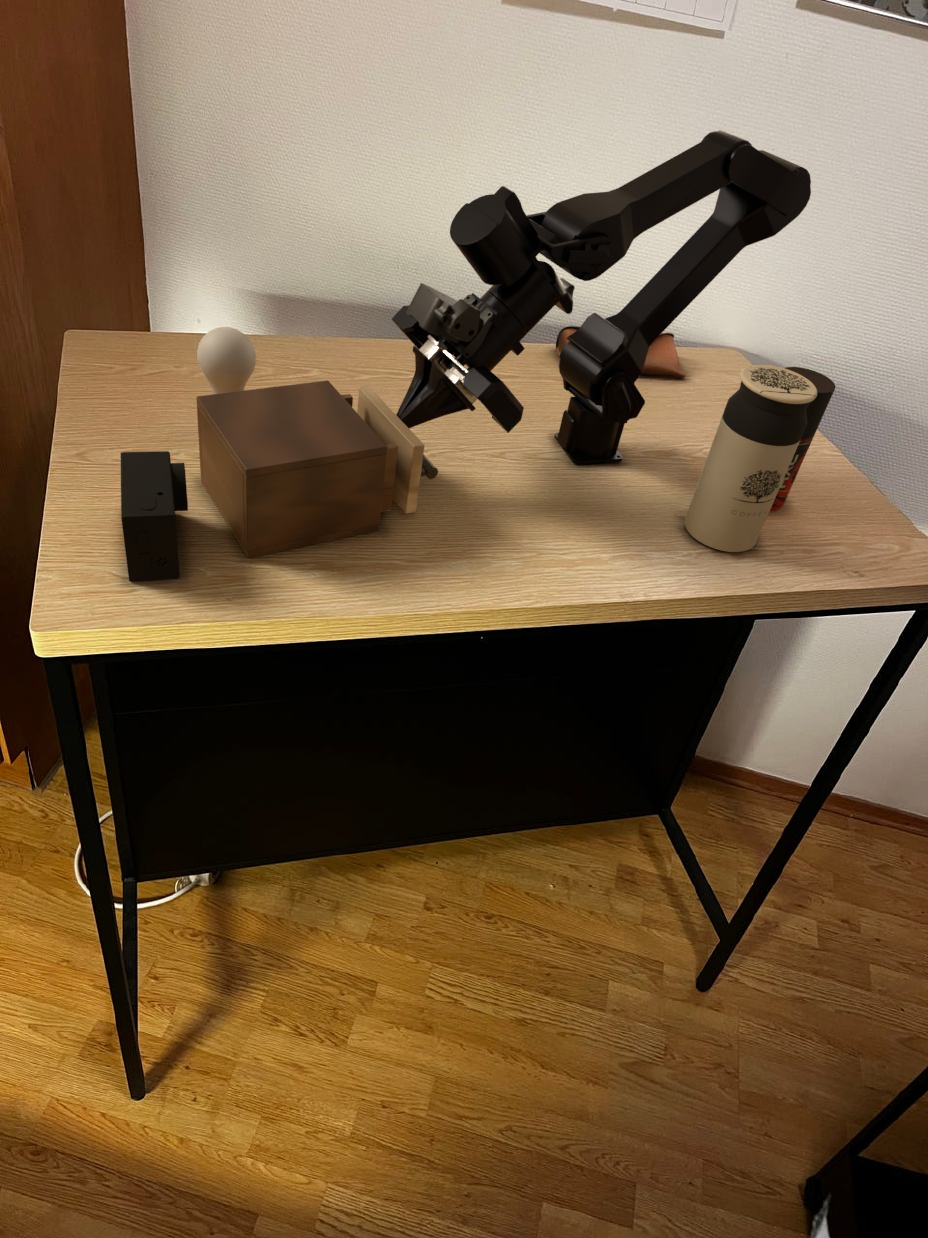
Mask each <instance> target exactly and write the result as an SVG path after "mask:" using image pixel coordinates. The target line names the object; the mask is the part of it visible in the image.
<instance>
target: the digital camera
mask: <svg viewBox="0 0 928 1238" xmlns="http://www.w3.org/2000/svg"><path fill="white" fill-rule="evenodd" d="M171 461H172V459H171V453H170V451H168V450H165V451H164V450H161V451H159V450H158V451H122V452H120V518H121V519H120V520H121V527H122V528H121V529H122V534H123V542H124V551H125V560H126V567H127V576H128V582H139V581H140V582H142V581H154V580H155V581H156V580H173V579H179V578H180V577H181V573H180V572H181V571H180V558H179V547H178V544H179V543H178V533H177V523H176V521H177V520H176V512H188V511H189V504H188V503H189V502H188V501H189V500H188V490H187V489H188V488H187V476H186V465H185V462H171Z"/></svg>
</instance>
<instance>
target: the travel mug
mask: <svg viewBox="0 0 928 1238" xmlns="http://www.w3.org/2000/svg"><path fill="white" fill-rule="evenodd" d="M784 368H785V367H780V366H777V365H772V364H771V365H770V364H752V365H747V366H746V367H744V368H742V370H741V371H740V374H739V377H740V385H739V389H737V391H735V392H734V393H733V394H732V395H731V396H730V397H729V398H728V400H727V402H726V404H725V407H724V410H723V413H722V416H721V418H720V421H719V424H718V427H717V429H716V432H715V435H714V438H713V441H712V443H711V446H710V449H709V452H708V454H707V457H706V460H705V462H704V465H703V468H702V471H701V473H700V475H699V476H700V477H699V479H698V482H697V484H696V486H695V490H694V492H693V496H692V499H691V501H690V504H689V507H688V509H687V512H686V515H685V517H684V522H683V523H684V526H685V528H686V531H687V532H688V533H689V535H691V537H693V538H694V539H695V540H697V541H698V542H699V543H701V544H703V545H705V546H707V547H708V548H711V549H715V550H719V551H722V552H730V553H741V552H746V551H749V550H751V549H753V547H754V546H755V545H756V544H757V541H758V539H759V537H760V535H761V532H762V530H763V527H764V525H765V522H766V521H767V518H768V516H769V513H770V512H769V511H770V509H771V507H772V504H773V502H774V500H775V497H776V495H777V493H778V491H779V488H780V486H781V484H782V481H783V479H784V477H785V474H786V472H787V470H788V468H789V465H790V463H791V461H792V458H793V456H794V454H795V451H796V449H797V447H798V444H799V442H800V440H801V438H802V435H803V433H804V431H805V428H806V426H807V414H806V408H807V407H808V405H809V403H810V402H811V401H813V400H814V399H815V398H816V397H817V389H816V387H815V386H814V384H813V383H812V382H810V381H809V380H808V379H806V378H805V377H803V376H802V375H800V374H798V373H795V372H793V371H790V370H788V369H784Z"/></svg>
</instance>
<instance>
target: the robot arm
mask: <svg viewBox="0 0 928 1238" xmlns="http://www.w3.org/2000/svg"><path fill="white" fill-rule="evenodd" d="M811 183H812V181H811V174H810V172H809V170H808V169H807V168H804V167H803V166H801V165H799V164H796V163H794V162H791V161H789V160H787V159H784V158H782V157H780V156H777V155H775V154H772V153H770V152H768V151H766V150H763V149H760V150H758V149H757V148H756V147H755V146H753V145H752V143H751V142H750V141H749V140H746V139H744V138H742V137H741V136H740V137H739V136H738V135H735V134H733V133H730V132H728V131H726V130H721V129H719V130H717V131H716V130H714V131H710V132H709V133H707V134H706V135H705V136H703V138H702V140H701V141H700V142H698V143H696V144H694V145H693V146H691V147H690V148H688V149H685V150H684V151H682V152H680V153H679V154H677V155H675V156H673V157H671V158H670V159H668V160H666V161H664V162H662V163H661V164H659V165H657V166H655V167H653V168H651V169H649V170H648V171H646V172H644V173H642V174H640V175H639V176H637V177H635V178H634V179H632V180H630V181H628V182H627V183H624V184H623V185H621V186H619V187H617V188H615V189H614V188H613V189H611V190H609V191H600V192H599V191H598V192H590V193H589V192H588V193H582V194H579V195H575V196H572V197H569V198H567V199H564V200H561V201H559V202H556V203H554V204H553V205H552V206H551V207H549V208H548V209H547V210H546V211H542V212H537V213H532V214H526V212H525V211H524V208H523V205H522V203H521V200H520V198H519V196H518V195H517V193H516V192H515V191H513V190H511V189H510V188H508V187H507V186H506V185H505V186H504V185H501V186H500V187H499V188H498V189H497V190H496V192H494V193H491V194H490V193H489V194H485V195H481V196H479V197H477V198H475V199H473V200H472V201H470V202H469V203H468V202H467V203H465V204H463V206H461V207H460V209H459V210H458V211H457V213H456V214H455V215H454V217H453V219H452V221H451V223H450V226H449V236H450V238H451V240H452V242H453V244H454V245H455V246H456V248H457V249H458V250H459V251H460V252H461V254H462V255H463V257H464V258H465V259H466V261H467V262H468V263H469V265H470V266H471V268H472V269H473V271H474V272H475V273H476V274H477V276H478V277H479V278H480V280H481V281H482V282H483V283H484V284H486V285H489V286H491V287H489V288H488V290H487V291H486V292H484V293H483V295H482V296H481V297H479V296H478V295H476V293H473V292H472V293H470V294H467V295H466V296H465V297H464V298H460V299H459V300H457V299H455V298H453V297H451V296H450V295H449V294H445V293H444V292H441V291H440V290H438V289H436V288H433V287H432V286H429V285H428V284H425V283H423V282H420V284H419V286H418V288H417V290H416V292H415V294H414V295H413V297H412V300H411V301H410V303H409V305H402V307H401V308H400V309H399V310H398V311H397V312H396V313H395V314H394V315H393V317H391V321H392V322H393V323H394V324H395V325H396V326H397V328H398V329H399V330H400V331H401V332H402V333H403V334H404V335H405V336H406V337H407V338H408V340H409V341H410V342H411V343H412V344H413V346H412V353H414V361H415V362H414V363H415V365H414V366H415V371H414V374H413V377H412V379H411V381H410V385H409V386H408V388H407V391H406V393H405V395H404V397H403V399H402V401H401V403H400V406H399V407H398V410H397V412H396V413H395V414H396V415H397V416H398V418H399V419H400V420H401V421H402V422H403V423H404V424H405V425H406V426H407V427H408V428H409V429H412V428H414V427H417V426H419V425H423V424H425V423H428V422H430V421H433V420H435V419H438V418H442V417H445V416H448V415H451V414H455V413H458V412H463V411H466V410H469V411H471V412H475V410H476V409H477V408H476V407H475V406H474V403H475V402H477V401H479V402H480V403H481V404H482V405H483V406H484V408H486V410H487V412H488V413H489V414H490V415H491V418H492V420H493V421H494V422H495V423H496V424H497V425H498V426H500V427H501V428H502V429H503V430H504V431H505V432H506V433H507V434H509V433H510V432H511V431H512V430H513V429H515V427H516V426H517V425H518V424H519V423H520V422H521V421H522V418H523V413H524V409H525V408H524V406H523V405H522V403H521V402H520V401H519V400H518V399H517V398H516V396H515V395H514V393H513V392H512V391H511V390H510V389H509V387H508V386H507V385H506V384H505V383H504V381H503V380H502V379H500V378H499V377H498V376H497V375H496V374H494V373H493V372H492V371H493V369H495V368H496V366H498V365H499V363H500V362H502V361H503V359H504V358H506V357H507V355H508V354H509V353H510V352H512V353H513V354H514V355H516V356H518V357H519V356H520V355H521V353H522V352H524V350H525V349H526V348H525V346H523V344H522V343H521V341H522V340H523V339H524V337H526V335H528V333H529V332H530V331H531V330H533V328H535V326H537V324H538V323H539V322H540V321H541V320H542V319H544V317H545V316H546V315H547V314H548V313H549V312H550V311H551V310H552V309H553V308H554V307H557V308H558V309H560V310H561V311H562V312H564V313H565V314H567V315H570V314H572V312H573V308H574V291H575V289H576V288H575V285H574V284H572V283H571V282H570V281H569V280H567V279H565V278H563V277H559V275H558V274H557V272H556V271H555V268H554V267H553V266H552V265H551V264H550V263H548V262H546V261H544V260H538V258H537V256H538V255H539V254H540V255H542V256H543V257H544V258H546V259H547V260H548V261H550V262H551V263H553V264H554V265H556V266H557V267H559V268H561V269H562V270H563V271H565V272H566V273H568V274H569V275H571V276H572V277H574V278H575V279H578V280H581V281H584V282H589V281H590V282H591V281H592V280H595V279H598V278H599V277H600V276H602V275H603V274H604V273H606V272H607V271H608V270H609V269H611V268H612V267H613V266H614V265H616V264H617V263H618V262H619V261H621V260H622V259H623V258H624V257H625V256H626V255H627V253H628V251H629V249H630V248H631V246H632V244H633V242H634V240H636V238H639V236H641V235H642V234H644V233H645V232H647V231H649V230H650V229H652V228H654V227H656V226H658V225H659V224H662V222H665V221H667V220H669V219H670V218H671V217H673V216H675V215H677V214H679V213H680V212H682V211H684V210H685V209H687V208H689V207H691V206H693V205H694V204H696V203H698V202H700V201H702V200H703V199H705V198H707V197H709V196H711V195H713V194H714V193H716V192H718V193H717V197H716V200H715V204H714V208H713V212H712V213H711V215H710V216H709V217H708V218H707V219H706V220H705V221H704V223H703V224H702V225H701V226H700V227H699V228H698V229H697V230H696V231H695V232H694V233H693V234H692V235H690V237H689V238H688V240H686V241H685V243H684V244H682V246H681V247H680V248H678V250H677V251H676V252H675V253H674V254H673V255H672V256H671V257H670V258H669V260H667V261H666V262H665V264H664V265H663V266H661V268H660V269H659V270H658V271H657V272H656V273H655V274H654V275H653V276H652V277H651V278H650V279H649V280H648V282H646V284H645V285H644V286H643V287H642V288H641V289H640V290H639V291H638V292H637V293H636V294H635V295H634V296H633V297H632V298H631V299H630V300H629V302H627V304H626V305H625V306H624V307H622V309H621V310H620V311H619V312H617V313H615V314H614V315H610V316H608V317H605V318H604V317H602V316H601V315H600V314H598V313H597V312H593V313H592V314H590V315H588V316H587V317H586V319H585V320H584V321H583V323H582V324H581V325H580V326H579V327H580V328H579V329H578V330H577V331H576V332H574V333H573V334H571V335H570V336H568V337H567V339H568V340H569V342H568V343H567V344H566V346H565V347H564V348H563V350H562V351H561V353H560V358H559V364H558V368H559V369H558V370H559V375H560V376H561V378H562V384H563V389H564V391H566V392H569V393H570V394H571V395H573V396H570V398H569V402H568V407H567V409H565V410H563V412H562V417H561V422H560V424H559V425H560V426H559V430H558V432H555V433H554V439H555V440H556V443H558V444H559V446H560V448H561V449H562V450H563V451H564V453H565V454H566V456H567V457H568V458H569V460H570V461H571V462H572V463H573V464H574V465H586V464H605V463H621V462H622V461H623V456H622V455H621V452H619V451H618V448H619V445H620V442H621V438H622V435H623V431H624V428H625V424H628V421H630V420H632V419H636V418H637V417H638V416H639V414H640V413H641V411H642V409H643V407H644V406H645V404H646V400H645V398H644V397H643V395H642V394H641V393H640V391H639V389H638V388H637V386H636V384H635V383H636V381H637V380H638V379H639V377H641V376H640V375H641V373H642V371H643V368H644V364H645V360H646V357H647V353H648V349H649V346H650V345H651V344H652V343H653V341H654V340H655V339H656V338H657V337H658V336H659V335H660V334H661V333H664V331H665V330H666V329H667V328H668V327H669V326H670V325H671V324H672V323H673V322H674V321H675V320H676V319H677V318H678V317H679V316H680V315H681V314H682V312H684V310H685V309H686V308H687V307H688V306H689V305H690V304H691V303H692V302H693V301H695V299H696V298H697V297H698V296H699V295H700V294H701V293H702V292H703V291H704V289H706V288H707V287H708V286H709V285H710V283H712V281H714V279H716V277H718V276H719V274H720V273H721V272H722V271H723V270H724V269H725V268H726V267H727V266H729V264H730V263H731V262H732V261H733V260H734V259H735V257H736V256H737V255H738V254H739V253H741V251H742V250H743V249H744V248H746V247H748V246H751V245H754V244H756V243H759V242H761V241H764V240H767V239H770V238H772V237H775V236H776V235H777V234H778V233H780V232H781V231H782V230H783V229H785V228H786V227H787V226H788V225H790V224H791V223H792V222H793V221H795V220H796V219H797V218H798V217H799V216H800V215H801V214H802V212H803V211H804V210H805V208H806V207H807V206H808V203H809V201H810V200H811V196H812V195H811V194H812V186H811V185H812V184H811ZM465 366H466V367H467V368H466V367H465Z"/></svg>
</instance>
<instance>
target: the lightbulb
mask: <svg viewBox="0 0 928 1238" xmlns="http://www.w3.org/2000/svg"><path fill="white" fill-rule="evenodd" d="M256 353H257V352H256V349H255V346H254V344H253V343H252V341H251V340H250V338H249V337H248V336H247V335H246V334H245V333H244V332H242V331H240V330H239V329H237V328H233V327H229V326H220V327H216V328H213V329H211V330H209V331H208V332H206V333H205V334H204V335H203V337H202V338H201V339H200V341H199V343H198V346H197V350H196V359H197V364H198V366H199V368H200V370H201V372H202V374H203V375H204V377H205V378H206V380H207V382H208V384H209V387H210V388H211V392H212V395H213V394H221V393H229V392H237V391H245V388H246V385H247V383H248V381H249V380H250V378H251V376H252V374H253V372H254V371H255V368H256V363H257V354H256Z"/></svg>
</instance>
